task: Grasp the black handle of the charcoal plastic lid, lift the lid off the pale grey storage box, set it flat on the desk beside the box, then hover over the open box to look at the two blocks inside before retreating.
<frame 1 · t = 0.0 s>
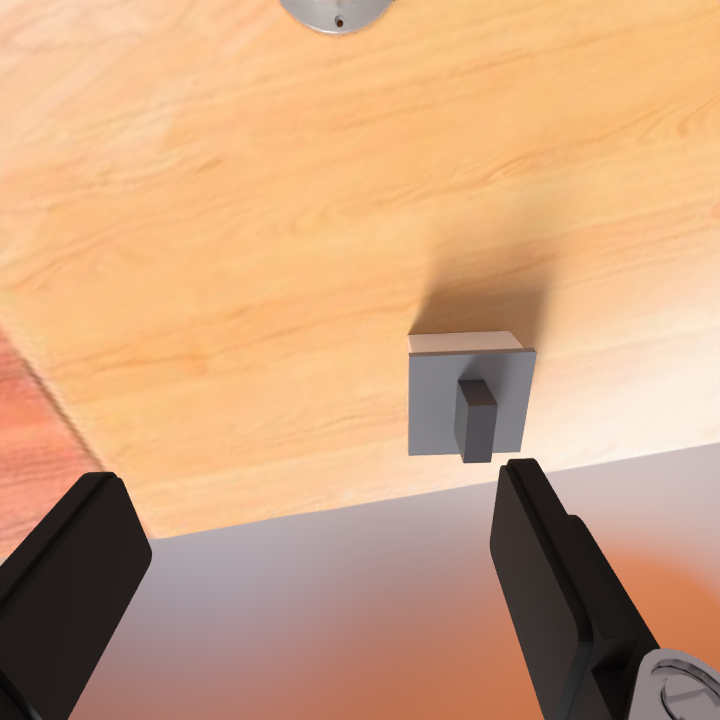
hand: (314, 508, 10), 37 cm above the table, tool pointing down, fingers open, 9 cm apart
storage box: (455, 376, 50), on the table
lid: (466, 402, 45), point 6 cm above the table, touching storage box
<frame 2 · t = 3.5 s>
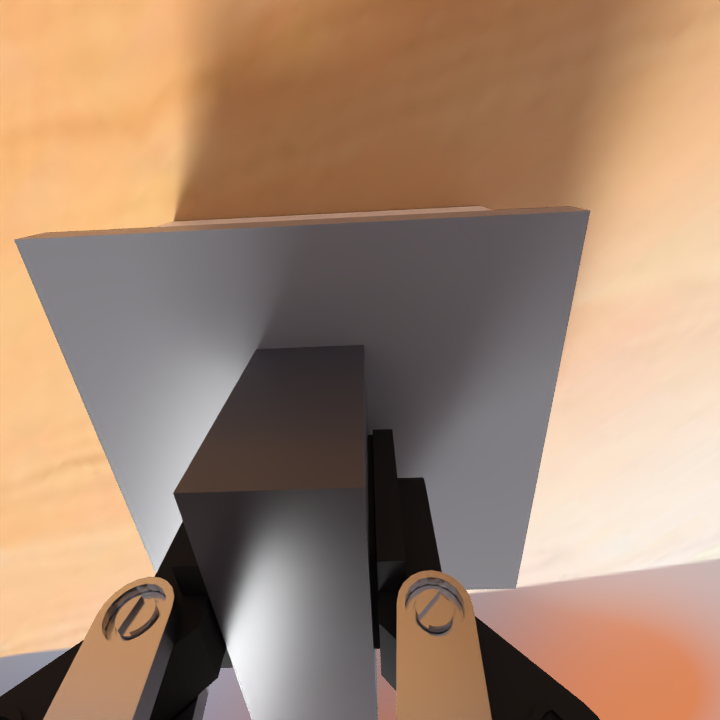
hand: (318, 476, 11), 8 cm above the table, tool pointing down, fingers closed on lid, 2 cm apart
storage box: (336, 353, 18), on the table
lid: (325, 433, 13), point 6 cm above the table, touching gripper, storage box
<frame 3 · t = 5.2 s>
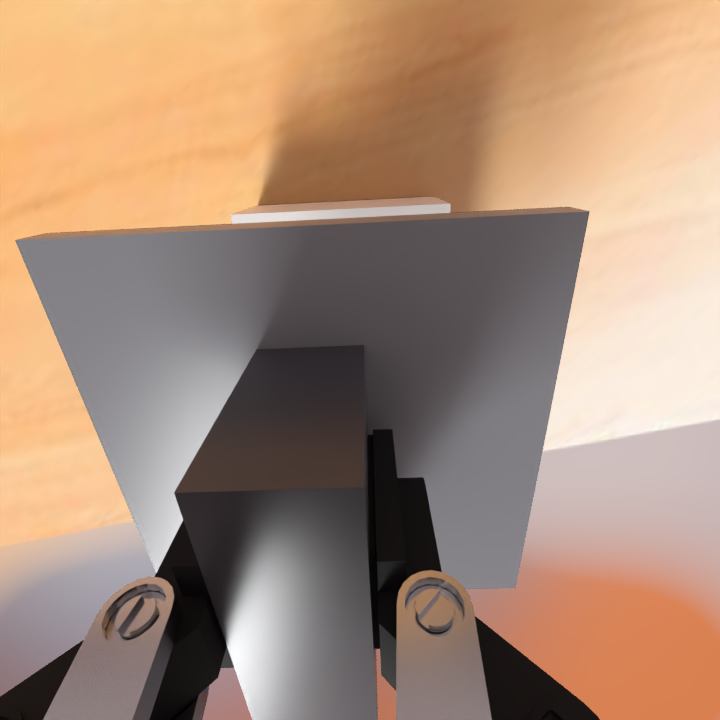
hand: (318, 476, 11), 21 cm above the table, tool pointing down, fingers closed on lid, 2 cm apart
storage box: (350, 287, 30), on the table
lid: (325, 433, 13), point 19 cm above the table, touching gripper
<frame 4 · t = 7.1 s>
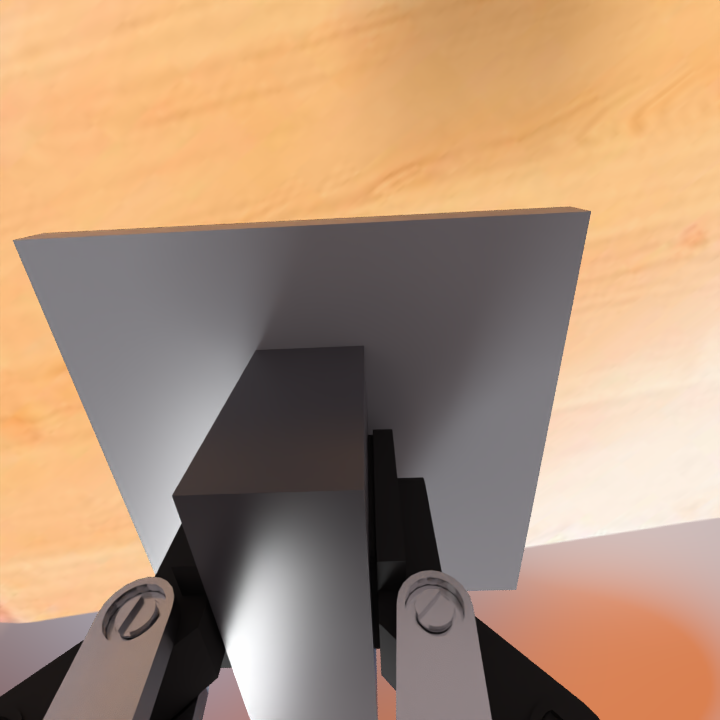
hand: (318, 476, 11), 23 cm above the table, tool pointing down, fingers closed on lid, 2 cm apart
lid: (325, 434, 13), point 21 cm above the table, touching gripper
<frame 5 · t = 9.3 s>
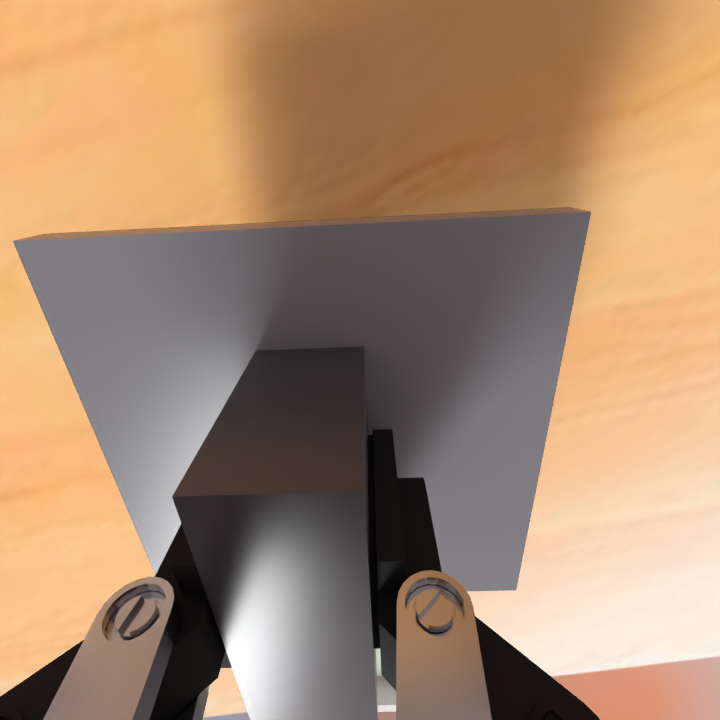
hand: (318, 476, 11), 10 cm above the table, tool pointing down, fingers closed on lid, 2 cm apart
storage box: (353, 560, 27), on the table
lid: (325, 434, 13), point 8 cm above the table, touching gripper
when the fingers open (4 cm above the table, at t = 10.7 s): lid drops 3 cm, on the table.
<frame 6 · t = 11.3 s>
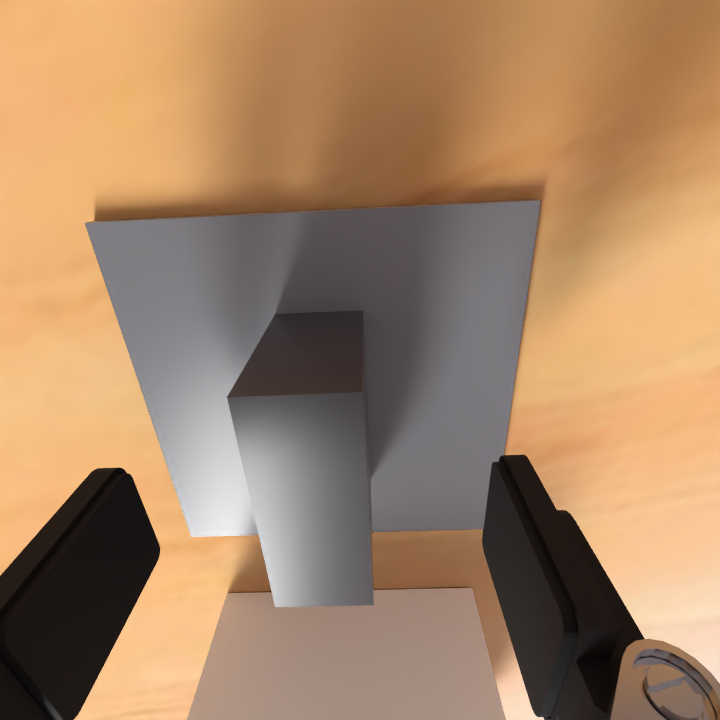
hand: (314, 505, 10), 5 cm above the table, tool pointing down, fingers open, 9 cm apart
storage box: (355, 658, 22), on the table
lid: (330, 390, 15), on the table
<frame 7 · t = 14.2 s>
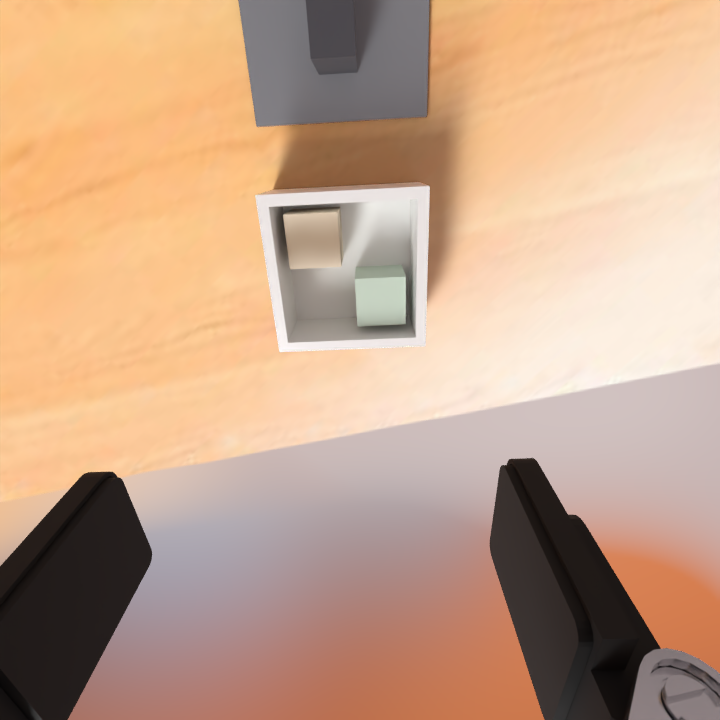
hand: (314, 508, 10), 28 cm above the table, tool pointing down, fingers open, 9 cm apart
sage block: (379, 288, 36), point 1 cm above the table, touching storage box
storage box: (350, 259, 35), on the table
birch block: (318, 233, 34), point 1 cm above the table, touching storage box
lid: (335, 16, 28), on the table
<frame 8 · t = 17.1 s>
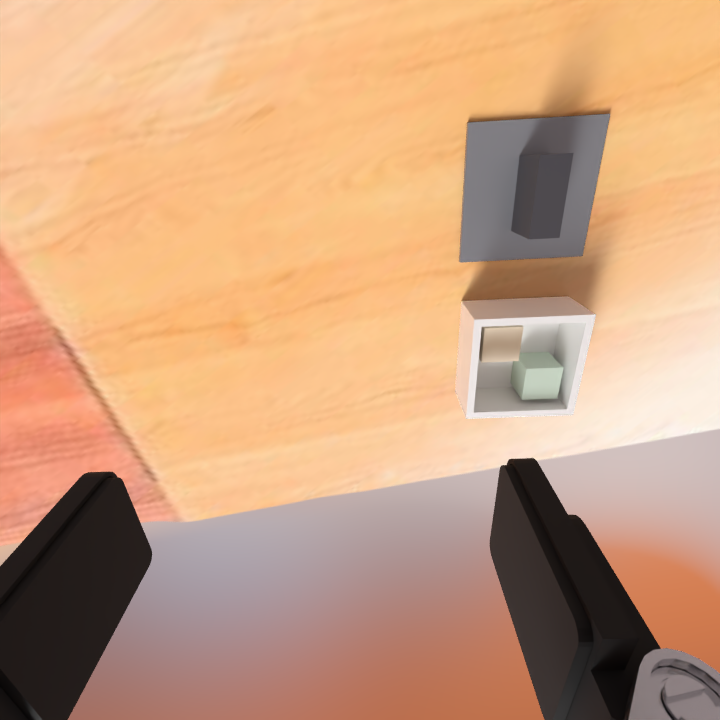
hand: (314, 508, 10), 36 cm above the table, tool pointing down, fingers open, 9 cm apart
sage block: (528, 367, 48), point 1 cm above the table, touching storage box
storage box: (508, 346, 48), on the table
birch block: (491, 330, 46), point 1 cm above the table, touching storage box
lid: (525, 193, 41), on the table
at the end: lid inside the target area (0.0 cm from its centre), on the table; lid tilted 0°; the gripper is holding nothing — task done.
